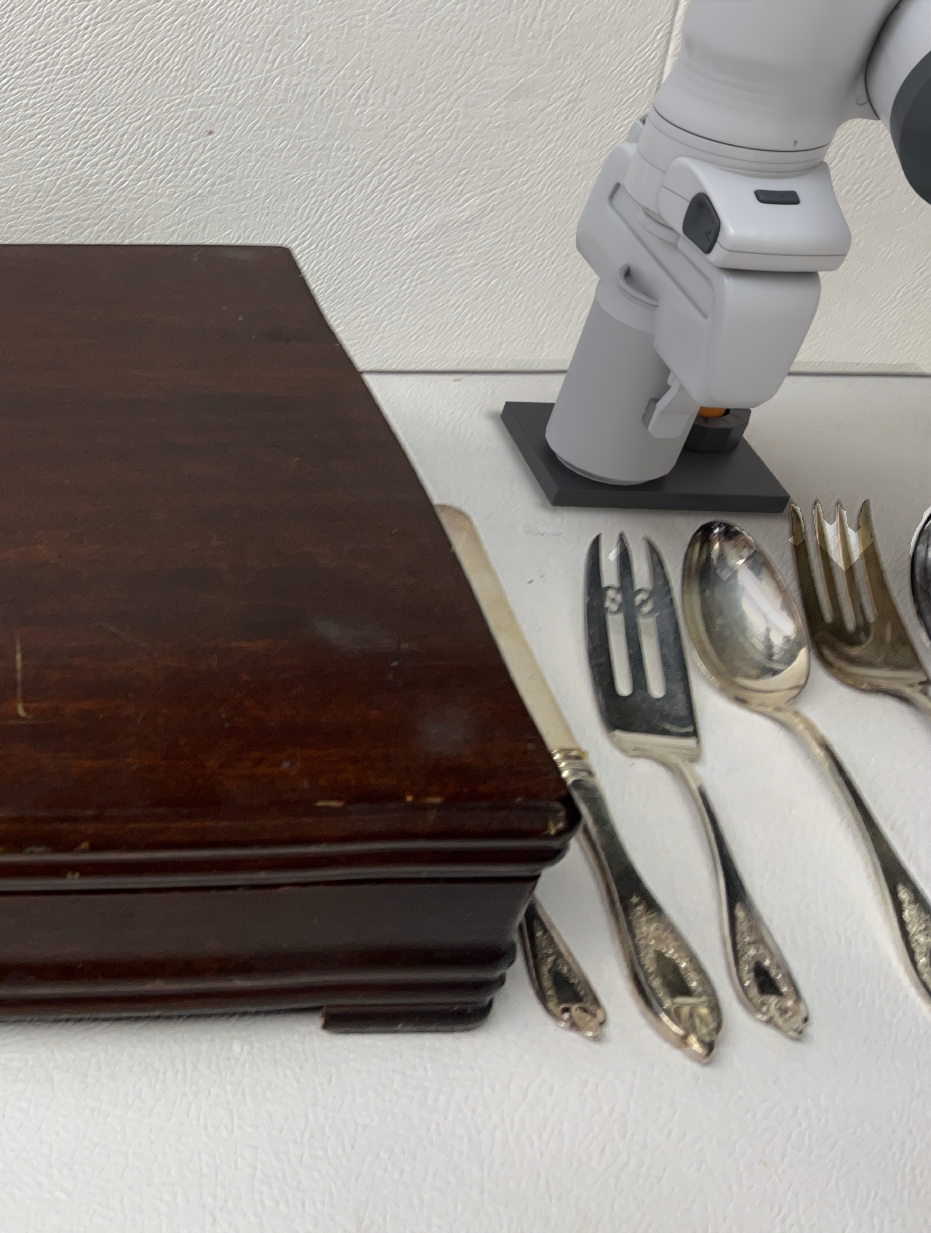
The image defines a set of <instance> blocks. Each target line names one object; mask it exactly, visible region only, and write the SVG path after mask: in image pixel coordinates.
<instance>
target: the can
mask: <svg viewBox="0 0 931 1233" xmlns="http://www.w3.org/2000/svg"><path fill="white" fill-rule="evenodd" d="M628 270H629V265H628V264H624V265H622V266H621V267H620V268H619V269H618V270H617V272H616V278H614V279H612V280H610V281H608V282H606V283H604V284H603V285H602V286H601V287H600V288H599V289H598V290H597V292H596V291H595V292H596V295H595V294H594V298H593V301H592V303H591V306H590V309H589V311H588V314H587V317H586V318H585V319H586V320H585V322H584V325H583V327H582V330H581V333H580V336H579V338H578V341H577V343H576V347H575V349H574V351H573V354H572V357H571V360H570V363H569V365H568V368H567V369H566V370H567V371H566V373H565V375H564V378H563V381H562V384H561V386H560V389H559V392H558V395H557V398H556V400H555V402H554V403H555V406H554V408H553V411H552V414H551V416H550V419H549V422H548V424H547V427H546V434H545V437H546V439H547V441H548V443H549V445H550V447H551V448H552V450H553V451H554V452H555V453H556V455H557V458H558V459H559V460H560V461H561V462H562V463H563V464H564V465H565V466H566V467H567V468H569V469H571V470H573V471H574V472H576V473H578V474H579V475H582V476H584V477H587V478H589V479H592V480H594V481H599V482H603V483H607V484H613V485H635V484H641V483H644V482H646V481H648V480H652V479H656V478H659V477H661V476H663V475H666V474H668V473H669V472H670V470H671V469H672V468H673V467H674V466H675V463H676V461H677V459H678V456H679V454H680V452H681V450H682V447H683V445H684V443H685V441H686V438H687V436H688V434H689V431H690V429H691V427H692V425H693V422H694V420H695V418H696V415H697V413H698V411H699V409H700V408H698V409H697V410H696V411H695V412H693V413H691V414H690V417H689V419H688V421H687V423H686V426H685V428H684V430H683V432H682V434H681V435H680V436H678V437H677V438H673V439H666V438H654V437H653V436H651V434H650V433H649V431H648V430H647V428H646V427H645V425H644V424H643V422H642V417H643V414H645V413H646V407H647V405H648V402H649V400H650V398H654V399H661V398H662V397H663V396H664V395H665V394H666V393H667V392H668V390H669V389H670V388H671V386H669V385H668V383H667V380H668V377H669V375H670V372H671V370H670V369H669V367H668V366H667V365H666V364H665V362H664V361H663V360H662V358H661V357H660V356H659V355H658V353H657V352H656V351H655V349H654V348H653V341H654V336H655V316H654V312H655V310H656V307H659V302H658V300H655V299H652V298H649V297H647V296H645V295H643V293H642V292H641V291H640V290H639V289H638V287H637V286H636V285H635V284H634V282H633V281H632V280H631V279H630V277H629V276H628V275H627V272H628Z"/></svg>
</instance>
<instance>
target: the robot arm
mask: <svg viewBox="0 0 931 1233" xmlns="http://www.w3.org/2000/svg"><path fill="white" fill-rule="evenodd" d="M681 25H682V26H681V27H682V28H681V42H680V48H679V52H678V56H677V58H676V61H675V63H674V65H673V67H672V69H671V71H670V72H669V74H668V75H667V77H666V78H665V79H664V81H663V82H662V83H661V85H660V86H659V88H658V90H657V91H656V93H655V96H654V98H653V102H652V103H651V107H650V109H649V112H648V113H645V114H643V115H642V116H641V117H640V118H638V119H636V120H634V121H633V122H632V124H631V126H630V128H629V131H628V133H627V136H626V139H625V142H621V143H619V144H617V145H616V146H614V147H613V149H611V151H610V152H609V153H608V155H607V157H606V159H605V160H604V163H603V165H602V166H601V168H600V170H599V172H598V175H597V177H596V178H595V181H594V184H593V186H592V187H591V190H590V192H589V194H588V197H587V200H586V201H585V204H584V207H583V209H582V211H581V214H580V216H579V218H578V222H577V225H576V232H575V234H576V235H575V248H576V249H577V250H576V251H577V252H578V253H580V255H581V256H582V258H583V259H584V260H585V261H586V263H587V264H588V265H589V267H590V268H591V269H592V270H593V272H594V274H596V276H597V277H598V278H599V279H598V281H597V284H596V287H595V294H594V296H595V295H596V292H597V290H598V289H599V288H600V287H601V286H602V285H603V284H604V283H606V282H608V281H610V280H612V279H614V278H616V272H617V270H618V269H619V268H620V267H621V266H622V265H624V264H628V265H629V270H628V272H627V275H628V276H629V277H630V279H631V280H632V281H633V282H634V284H635V285H636V286H637V287H638V289H639V290H640V291H641V292H642V293H643V295H645V296H647V297H649V298H652V299H655V300H658V302H659V307H656V310H655V312H654V316H655V336H654V341H653V348H654V349H655V351H656V352H657V353H658V355H659V356H660V357H661V358H662V360H663V361H664V362H665V364H666V365H667V366H668V367H669V369H670V370H671V372H670V375H669V377H668V380H667V383H668V385H669V386H671V388H670V389H669V390H668V392H667V393H666V394H665V395H664V396H663V397H662V398H661V399H654V398H650V400H649V402H648V405H647V407H646V413H645V414H643V417H642V422H643V424H644V425H645V427H646V428H647V430H648V431H649V433H650V434H651V436H653V437H654V438H666V439H673V438H677V437H678V436H680V435H681V434H682V432H683V430H684V428H685V426H686V423H687V421H688V419H689V417H690V414H691V413H693V412H695V411H696V410H697V409H698V408H700V407H701V406H703V407H710V408H730V409H751V410H752V409H756V408H758V407H761V406H762V405H764V404H765V403H767V402H768V401H770V400H772V399H773V398H774V397H775V395H776V394H777V393H778V392H779V390H780V388H781V387H782V385H783V383H784V381H785V380H786V378H787V376H788V374H789V372H790V370H791V368H792V366H793V365H794V362H795V360H796V359H797V357H798V355H799V352H800V350H801V348H802V346H803V343H804V341H805V339H806V338H807V335H808V333H809V331H810V328H811V326H812V323H813V321H814V319H815V316H816V313H817V311H818V308H819V305H820V301H821V294H822V282H821V276H820V273H819V272H835V271H837V270H839V269H840V268H841V266H842V265H843V263H844V261H845V260H846V258H847V256H848V254H849V251H850V249H851V246H852V241H853V239H852V232H851V229H850V227H849V225H848V223H847V220H846V217H845V216H844V213H843V211H842V209H841V206H840V204H839V201H838V198H837V196H836V193H835V189H834V185H833V181H832V174H831V168H830V166H829V164H828V162H827V161H824V160H825V158H826V156H827V154H828V151H829V149H830V147H831V144H832V142H833V140H834V138H835V137H836V133H837V131H838V129H839V128H841V126H842V125H843V124H845V123H847V122H848V121H851V120H855V119H861V120H869V121H870V120H871V121H876V122H878V121H881V123H882V125H884V127H885V129H886V130H887V132H888V133H889V135H890V137H891V141H892V145H893V147H894V150H895V152H896V155H897V158H898V161H899V164H900V167H901V170H902V173H903V174H904V177H905V179H906V181H907V183H908V184H909V186H910V187H911V189H912V190H913V191H914V192H915V193H916V194H917V195H918V196H919V198H921V199H922V200H923V201H925V202H926V203H927V204H929V205H930V206H931V0H690V1H689V3H688V6H687V8H686V11H685V13H684V17H683V20H682V24H681Z"/></svg>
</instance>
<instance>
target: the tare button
mask: <svg viewBox="0 0 931 1233" xmlns="http://www.w3.org/2000/svg"><path fill="white" fill-rule="evenodd" d="M725 410H726V408H710V407H703V406H701V407H700V409H699V411H698V413H697V415H699V416H703V417H717V418H720V417H721V416H722V415H723V414H724V412H725Z"/></svg>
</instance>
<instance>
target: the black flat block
mask: <svg viewBox="0 0 931 1233" xmlns="http://www.w3.org/2000/svg"><path fill="white" fill-rule="evenodd" d="M555 403H556V402H541V401H515V400H514V401H513V400H510V401H509V400H506V401H505V402H504V405H503V408H502V410H501V414H500V418H501V420H502V422H503V423H504V425H505V427H506V428H507V430H508V432H509V434H510V435H511V437H512V439H513V440H514V442H515V444H516V446H517V447H518V449H519V451H520V453H521V455H522V456H523V458H524V459H525V461H526V463H527V465H528V466H529V468H530V470H531V471H532V473H533V475H534V477H535V478H536V480H537V481H538V484H539V485H540V487H541V489H542V491H543V492H544V494H545V495H546V497H547V499H548V500H549V502H550V504H551V505H552V506H567V507H597V508H598V507H599V508H600V507H601V508H626V509H627V508H630V509H662V510H663V509H664V510H691V511H692V510H693V511H722V512H723V511H724V512H748V513H749V512H753V513H757V512H758V513H784V512H785V510H786V508H787V506H788V504H789V502H790V500H791V499H792V498H791V497H792V496H791V495H790V494H789V492H788V491H787V490H786V488H785V487H784V486H783V485H782V484H781V482H780V481H779V479H778V478H777V477H776V476H775V475H774V474H773V472H772V471H771V470H770V468H769V466H767V464H766V463H765V462H764V461H763V459H762V458H761V457H760V456H759V454H758V453H757V452H756V451H755V449H754V448H753V447H752V445H751V444H750V443H749V441H748V440H747V439H746V438H745V437H744V434H745V432H746V429H747V427H748V425H749V423H750V419H751V416H752V408H751V409H730V408H726V410H725V412H724V414H723V415H722V416H721V417H720V418H717V417H703V416H699V415H696V418H695V420H694V422H693V425H692V427H691V429H690V431H689V434H688V436H687V438H686V441H685V443H684V445H683V447H682V450H681V452H680V454H679V456H678V459H677V461H676V463H675V466H674V467H673V468H672V469H671V470H670V472H669V473H668V474H666V475H663V476H661V477H659V478H656V479H652V480H648V481H646V482H644V483H641V484H635V485H613V484H607V483H603V482H599V481H594V480H592V479H589V478H587V477H584V476H582V475H579V474H578V473H576V472H574V471H573V470H571V469H569V468H567V467H566V466H565V465H564V464H563V463H562V462H561V461H560V460H559V459H558V458H557V455H556V453H555V452H554V451H553V450H552V448H551V447H550V445H549V443H548V441H547V439H546V437H545V434H546V427H547V424H548V422H549V419H550V416H551V414H552V411H553V408H554V406H555Z"/></svg>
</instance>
